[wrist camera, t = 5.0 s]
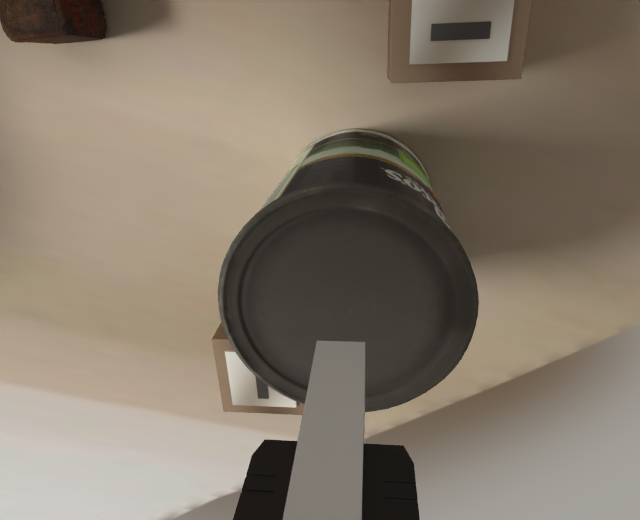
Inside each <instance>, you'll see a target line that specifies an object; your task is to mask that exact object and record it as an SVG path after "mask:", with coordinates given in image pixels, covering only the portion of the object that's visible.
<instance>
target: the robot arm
mask: <svg viewBox="0 0 640 520" xmlns="http://www.w3.org/2000/svg"><path fill="white" fill-rule="evenodd" d="M364 432H365V342H347V341H317V342H316V348H315V353H314V358H313V363H312V369H311V374H310V379H309V384H308V390H307V395H306V400H305V405H304V410H303V416H302V421H301V426H300V431H299V437H298V441H282V440H264V441H263V443H262V444H261V445H260V446H259V447H258V449H257V450H256V451H255V452H254V454H253V455H252V458H251V461H250V464H249V468H248V471H247V477H246V478H245V481H244V485H243V488H242V493H241V495H240V498H239V502H238V505H237V508H236V511H235V515H234V518H233V520H419V510H418V503H417V491H416V482H415V471H414V464H413V461H412V460H411V458H410V456H409V454H408V453H407V451H406V449H405V448H404V446H400V445H380V444H364Z"/></svg>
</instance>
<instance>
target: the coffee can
mask: <svg viewBox="0 0 640 520" xmlns="http://www.w3.org/2000/svg"><path fill="white" fill-rule="evenodd" d="M218 303H219V311H220V317H221V321H222V324H223V327H224V330H225V333H226V335H227V338H228V340H229V341H230V344H231V346H232V347H233V349H234V350H235V352H236V354H237V355H238V357H239V358H240V359H241V361H242V362H243V363H244V365H245V366H246V367H247V368H248V369H249V370H250V371H251V372H252V373H253V374H254V375H255V376H256V377H257V378H258V379H260V380H261V381H262V382H263V383H265V384H266V385H267V386H269V387H270V388H272V389H273V390H275V391H277V392H278V393H280V394H282V395H283V396H285V397H288V398H290V399H292V400H294V401H297V402H299V403H302V404H305V400H306V395H307V390H308V384H309V379H310V374H311V369H312V363H313V358H314V353H315V348H316V342H317V341H347V342H365V412H371V411H377V410H383V409H388V408H391V407H394V406H398V405H401V404H403V403H405V402H408V401H410V400H412V399H414V398H416V397H418V396H420V395H422V394H423V393H425V392H427V391H428V390H430V389H431V388H433V387H434V386H436V385H437V384H438V383H439V382H441V381H442V380H443V379H445V377H446V376H447V375H448V374H449V373H450V372H451V371H452V370H453V369H454V368H455V367H456V365H457V364H458V363H459V361H460V360H461V359H462V356H463V355H464V353H465V351H466V350H467V348H468V345H469V343H470V341H471V338H472V335H473V332H474V329H475V326H476V320H477V315H478V303H479V301H478V290H477V284H476V279H475V276H474V273H473V270H472V267H471V263H470V261H469V259H468V257H467V255H466V253H465V251H464V249H463V247H462V246H461V244H460V242H459V241H458V239H457V238H456V236H455V235H454V234H453V233H452V231H451V229H450V227H449V225H448V222H447V220H446V218H445V215H444V213H443V211H442V209H441V207H440V205H439V203H438V200H437V198H436V196H435V194H434V192H433V189H432V188H431V184H430V181H429V178H428V175H427V173H426V170H425V168H424V166H423V165H422V163H421V162H420V161H419V159H418V158H417V157H416V155H415V154H414V153H413V152H412V151H411V150H410V149H409V148H407V147H406V146H405V145H403V144H402V143H401V142H399V141H397V140H396V139H394V138H392V137H390V136H388V135H385V134H383V133H379V132H377V131H372V130H364V129H350V130H343V131H338V132H334V133H332V134H329V135H326V136H324V137H322V138H320V139H318V140H317V141H315V142H313V143H312V144H310V145H309V146H308V147H307V148H306V149H305V150H304V151H303V152H302V153H301V154H300V155H299V156H298V157H297V158H296V160H295V161H294V163H293V164H292V166H291V167H290V169H289V171H288V173H287V174H286V175H285V177H284V178H283V179H282V181H281V182H280V183H279V184H278V186H277V187H276V189H275V190H274V191H273V193H272V194H271V196H270V197H269V198H268V200H267V201H266V203H265V204H264V205H263V207H262V208H261V209H260V211H259V212H258V213H257V214H255V216H254V217H253V218H252V219H251V220H250V221H249V222H248V223H247V224H245V226H244V227H243V228H242V230H241V231H240V232H239V234H238V235H237V236H236V238H235V239H234V241H233V242H232V244H231V246H230V248H229V250H228V252H227V254H226V257H225V259H224V261H223V265H222V268H221V272H220V278H219V286H218Z"/></svg>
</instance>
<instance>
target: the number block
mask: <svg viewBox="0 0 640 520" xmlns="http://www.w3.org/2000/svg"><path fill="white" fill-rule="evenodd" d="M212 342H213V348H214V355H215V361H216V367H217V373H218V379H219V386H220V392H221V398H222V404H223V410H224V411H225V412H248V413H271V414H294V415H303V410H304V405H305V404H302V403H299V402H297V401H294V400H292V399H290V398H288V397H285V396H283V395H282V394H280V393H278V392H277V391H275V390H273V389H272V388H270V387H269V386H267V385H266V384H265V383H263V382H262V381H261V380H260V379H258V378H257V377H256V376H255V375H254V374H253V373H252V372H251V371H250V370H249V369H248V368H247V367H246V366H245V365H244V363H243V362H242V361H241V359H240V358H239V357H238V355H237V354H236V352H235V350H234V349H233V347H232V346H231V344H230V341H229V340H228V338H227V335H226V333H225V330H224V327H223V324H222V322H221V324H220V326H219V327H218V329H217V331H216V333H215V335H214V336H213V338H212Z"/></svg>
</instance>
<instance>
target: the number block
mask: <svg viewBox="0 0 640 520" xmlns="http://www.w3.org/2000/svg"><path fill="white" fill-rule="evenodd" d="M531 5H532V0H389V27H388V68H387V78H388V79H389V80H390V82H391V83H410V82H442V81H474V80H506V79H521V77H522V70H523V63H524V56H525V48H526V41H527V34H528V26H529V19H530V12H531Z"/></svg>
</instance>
